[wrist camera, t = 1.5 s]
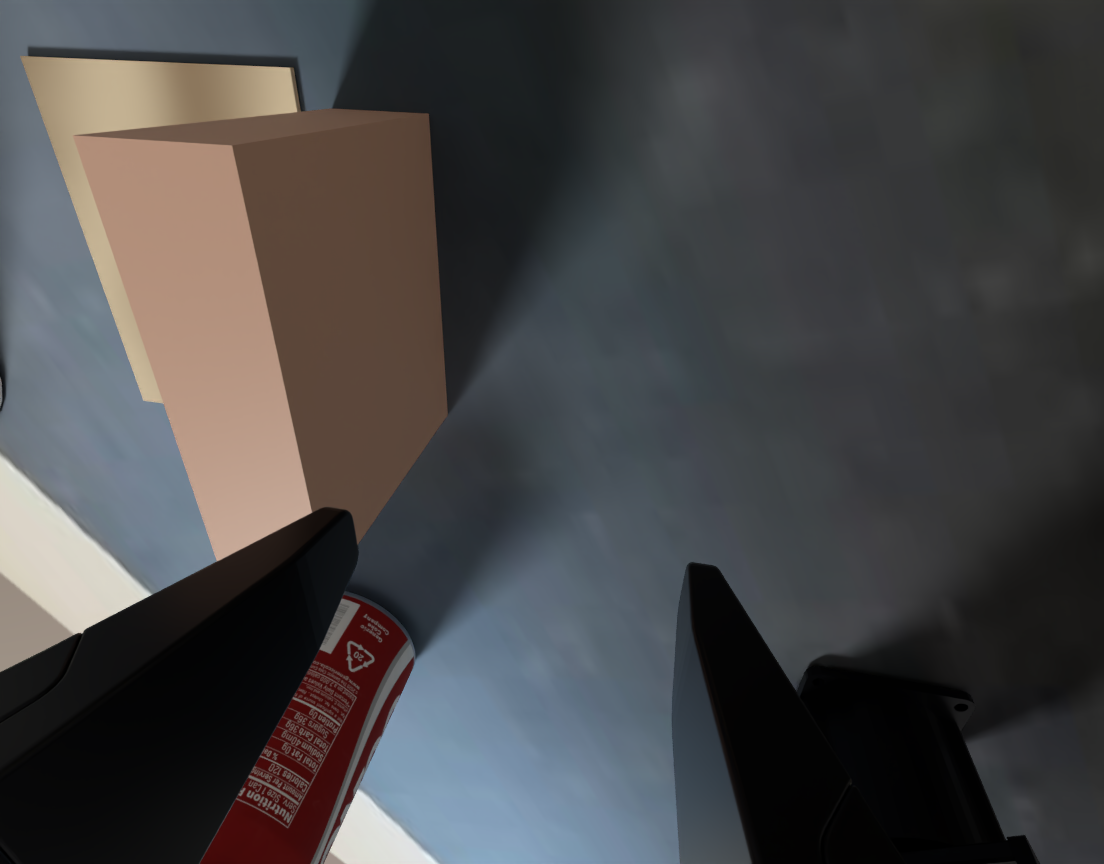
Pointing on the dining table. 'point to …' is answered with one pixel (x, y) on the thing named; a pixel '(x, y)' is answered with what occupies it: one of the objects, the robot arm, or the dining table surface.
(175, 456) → the dining table surface
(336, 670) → the soda can
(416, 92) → the dining table surface
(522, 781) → the dining table surface
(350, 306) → the block
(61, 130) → the tan wooden flat board
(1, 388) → the toilet tissue
